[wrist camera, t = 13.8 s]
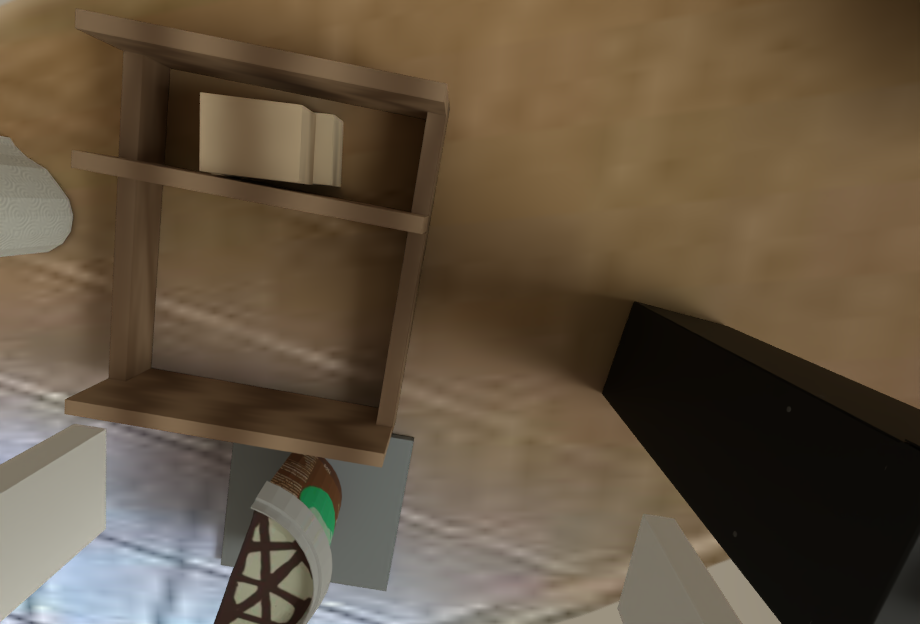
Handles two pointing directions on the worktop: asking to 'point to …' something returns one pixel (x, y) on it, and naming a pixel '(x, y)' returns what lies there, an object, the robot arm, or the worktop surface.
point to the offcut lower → (325, 151)
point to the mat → (360, 517)
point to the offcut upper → (256, 138)
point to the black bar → (780, 465)
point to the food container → (286, 547)
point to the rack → (140, 197)
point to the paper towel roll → (29, 205)
